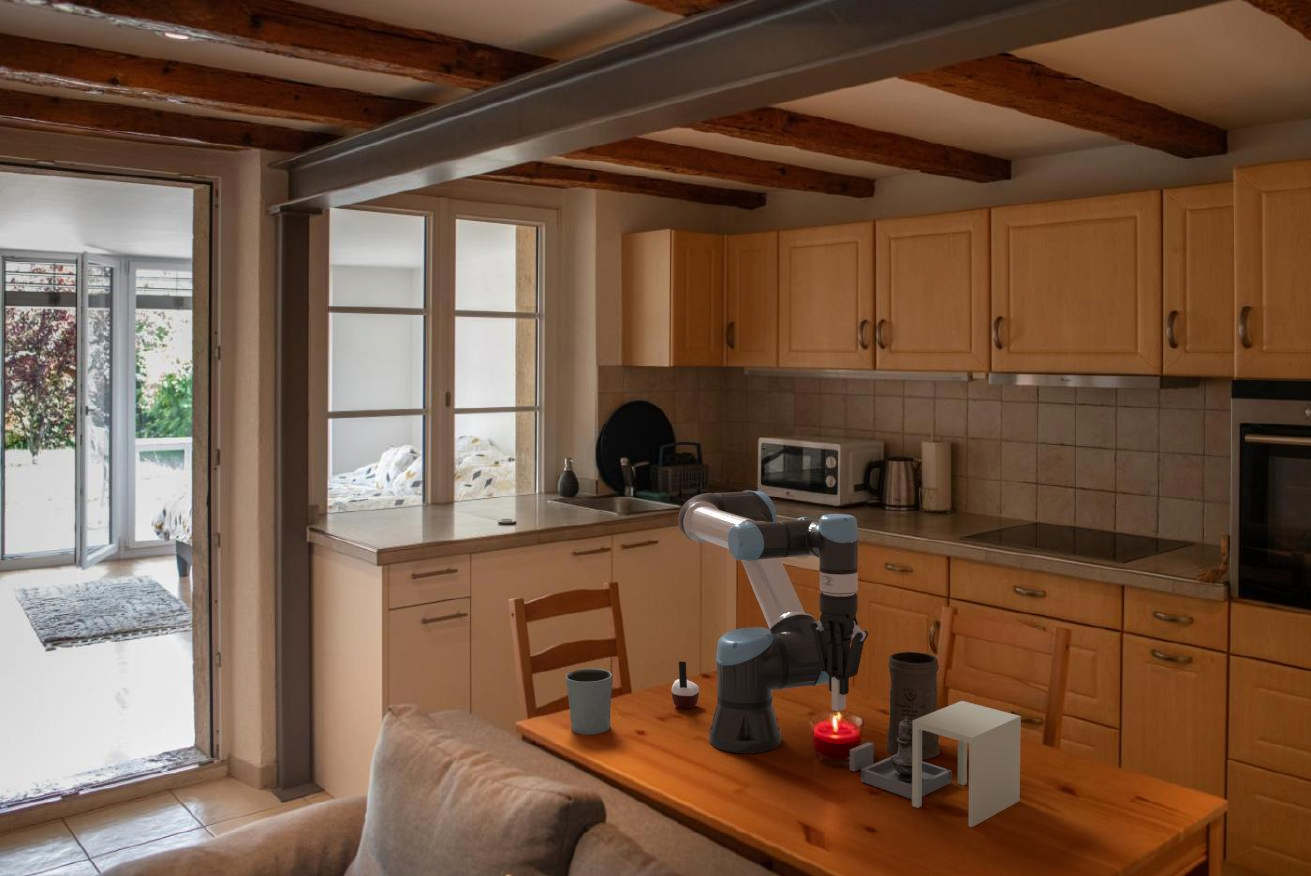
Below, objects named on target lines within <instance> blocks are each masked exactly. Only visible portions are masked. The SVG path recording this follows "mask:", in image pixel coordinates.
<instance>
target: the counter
mask: <svg viewBox="0 0 1311 876" xmlns="http://www.w3.org/2000/svg"><path fill="white" fill-rule="evenodd" d="M1021 718H1022V717H1021V715H1017V714H1013V713H1010V712H1006V711H1002V710H998V709H995V708H991V707H987V706H985V705H980V704H976V703H971V702H968V701H964V700H960V701H958V702H956V703H955V702H954V703H953V704H950V705H948V706H946V707H943V708H940V709H937V711H935V712H932V713H930V714H927V715H925V716H922V717H920V718H917V719H915V720H913V735H912V799H911V806H912V807H914V808H918V809H919V808H920V807H922V801H923V800H922V799H923V797H922V761H923V759H922V730H925V731H928V732H931V733H935V734H938V735H939V736H942V737H946V738H948V739H949V738H950V739H953V740H955V741H957V784H958V785H961V786H965V785H967V778H968V827H969V828H974V827H975V826H976V825H977V826H978V824H980V823H982V822H984V821H986V820H987V819H989V818H992V817H993V816H995V815H996V814H999V813H1000V812H1002V811H1004V810H1006V809H1008V808H1009V807H1011V806H1013V805H1015V804H1017V803H1019V802H1020V800H1021V799H1020V796H1021V795H1020V793H1021V792H1020V791H1021V789H1020V788H1021V785H1020V784H1021V731H1022V730H1021V729H1022V728H1021V726H1022V725H1021V724H1022V723H1021V722H1022V721H1021V720H1022V719H1021ZM968 745H969V746H968ZM968 748H969V749H968ZM968 751H969V752H968ZM968 754H969V755H968ZM968 757H969V758H968ZM967 760H968V761H967ZM967 767H968V768H967ZM967 769H968V770H967ZM967 772H968V773H967Z"/></svg>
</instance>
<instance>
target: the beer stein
mask: <svg viewBox="0 0 1311 876" xmlns="http://www.w3.org/2000/svg"><path fill="white" fill-rule="evenodd" d="M887 663H888V665H887V666H888V670H889V676H890V689H889V724H888V729H887V733H886V734H887V741H886V747H885V748H886V750H887V752H888V753H890V754H891V755H892V756H893V755H896V754H897V753H898V750H899V741H897V738H898V737H899V723H900V722H901V721H903V720H905V717H906V716H907V717H908V720H909V721H911V722H913V720H915V719H917V718H920V717H922V716H925V715H927V714H930V713H932V712H935V711H937V710H938V697H937V696H938V694H937V693H938V690H937V688H938V687H937V684H938V683H937V681H938V679H937V677H938V674H937V673H938V671H939V668H940V666H939V659H938V657H936V656H934V655H932V654H928V653H925V652H916V651H903V652H896V653H893V654H890V656H889V660H888V662H887ZM939 739H940V735H938V734H935V733H931V732H928V731H925V730H922V760H930V759H933V758H936V757H938V756H939V754H940V753H941V748H940V744H939Z"/></svg>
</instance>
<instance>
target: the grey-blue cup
mask: <svg viewBox="0 0 1311 876" xmlns="http://www.w3.org/2000/svg"><path fill="white" fill-rule="evenodd" d="M565 675H566V676H565V683H566V688H567V689H566V690H567V696H568V697H567V698H568V706H569V710H570V711H569V716H570V726H571V731H573V732H574V733H576V734H579V735H583V736H584V735H587V736H592V735H594V736H595V735H599V734H600V735H601V734H603V733H606V732H607V731H609V730H610V728H611V708H612V699H611V698H612V696H611V695H612V684H613V673H612V672H611V671H609V670H607V669H603V668H581V669H577V670H572V671H570V672H568V673H567V674H565Z"/></svg>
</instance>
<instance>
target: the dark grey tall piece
mask: <svg viewBox="0 0 1311 876" xmlns="http://www.w3.org/2000/svg"><path fill="white" fill-rule="evenodd" d="M912 735H913V722H911V721H909V720H908V717H907V716H906V717H905V720H903V721H901V722H900V723H899V737H898V738H897V741H899V750H898V753H897V754H896V755H893V754H892V755H891V756H892V757H891V756H890V757H891V761H892V764H893V767H894V769H895V770H896V771H897V772H896V773H894V774H893V775H892V778H893V779H896V780H899V781H902V782H905V783H912Z"/></svg>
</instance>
